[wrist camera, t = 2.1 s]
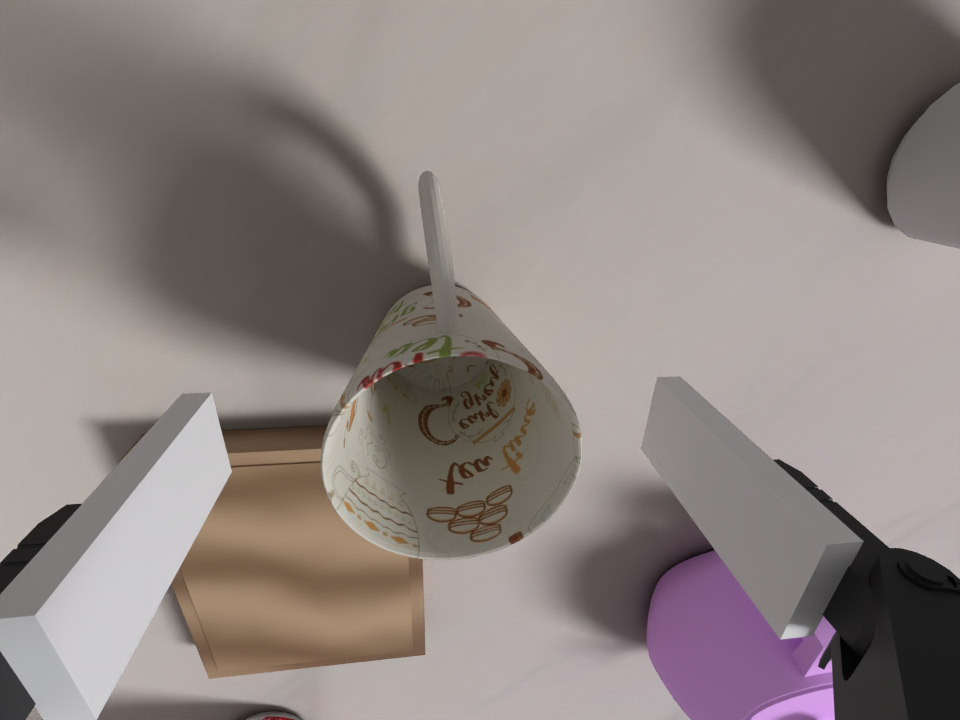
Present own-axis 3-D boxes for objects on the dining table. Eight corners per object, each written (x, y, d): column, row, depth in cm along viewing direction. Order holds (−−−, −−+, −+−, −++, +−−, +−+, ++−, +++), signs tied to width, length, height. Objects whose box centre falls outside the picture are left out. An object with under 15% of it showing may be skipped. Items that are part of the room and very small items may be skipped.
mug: (374, 419, 25) (352, 579, 16) (315, 172, 19) (231, 211, 10) (523, 397, 26) (582, 540, 17) (511, 151, 20) (589, 172, 11)
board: (143, 434, 24) (120, 460, 22) (417, 421, 25) (418, 444, 24) (220, 647, 32) (208, 680, 30) (424, 626, 33) (425, 656, 32)
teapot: (625, 681, 41) (693, 858, 31) (646, 517, 31) (751, 695, 22) (766, 654, 42) (875, 817, 32) (827, 488, 32) (1006, 645, 23)
